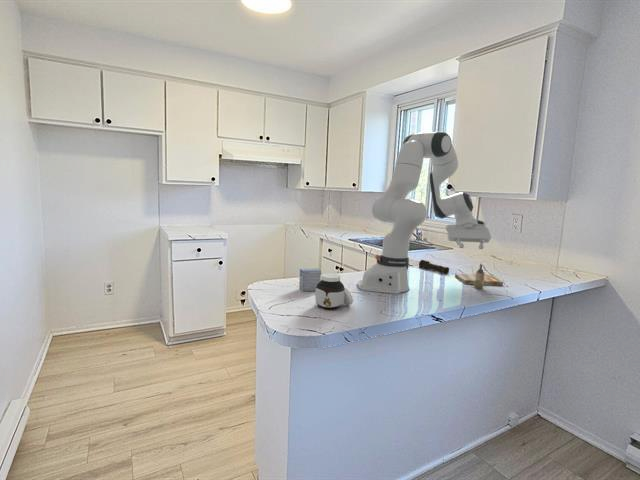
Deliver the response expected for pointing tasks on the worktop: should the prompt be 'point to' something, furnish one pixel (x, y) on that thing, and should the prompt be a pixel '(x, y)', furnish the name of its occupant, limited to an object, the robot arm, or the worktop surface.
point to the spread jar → (332, 292)
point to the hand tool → (433, 267)
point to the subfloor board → (471, 279)
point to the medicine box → (309, 279)
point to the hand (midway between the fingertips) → (471, 248)
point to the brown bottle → (479, 278)
